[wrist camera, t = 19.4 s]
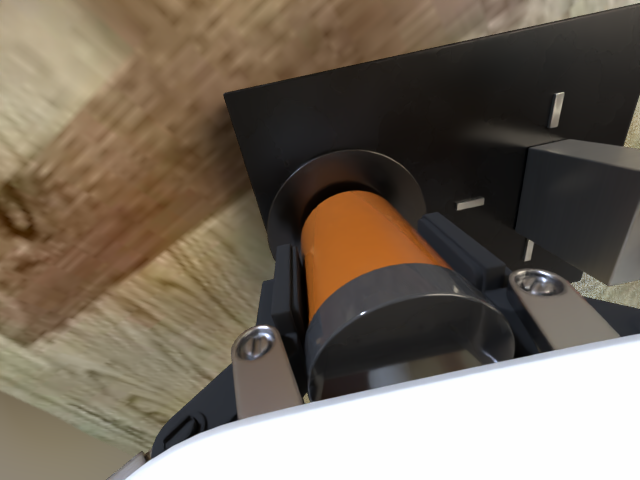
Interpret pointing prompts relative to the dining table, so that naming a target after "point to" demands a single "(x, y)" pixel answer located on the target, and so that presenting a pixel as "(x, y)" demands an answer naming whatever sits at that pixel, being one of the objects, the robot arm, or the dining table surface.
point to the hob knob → (584, 207)
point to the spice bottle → (387, 303)
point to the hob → (456, 119)
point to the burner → (340, 190)
